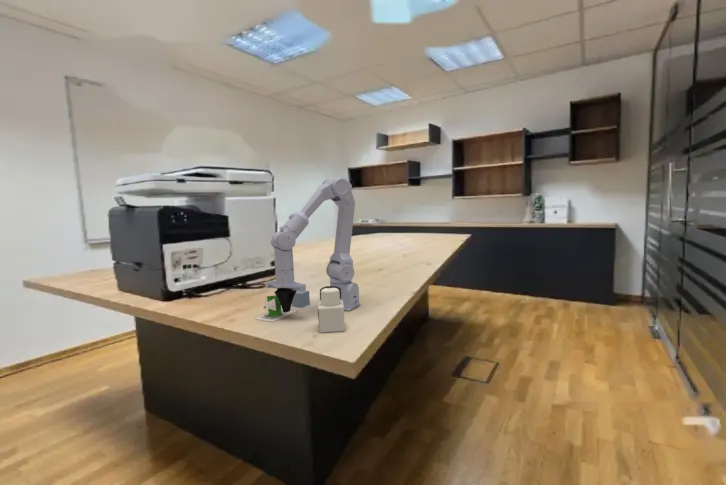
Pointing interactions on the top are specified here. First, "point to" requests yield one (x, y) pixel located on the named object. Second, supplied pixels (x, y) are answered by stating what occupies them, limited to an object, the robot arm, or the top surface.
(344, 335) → the top surface
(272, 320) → the letter
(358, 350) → the top surface
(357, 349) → the top surface
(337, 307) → the medicine bottle
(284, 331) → the top surface
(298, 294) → the slate cube
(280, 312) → the geometric puzzle
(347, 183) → the robot arm
